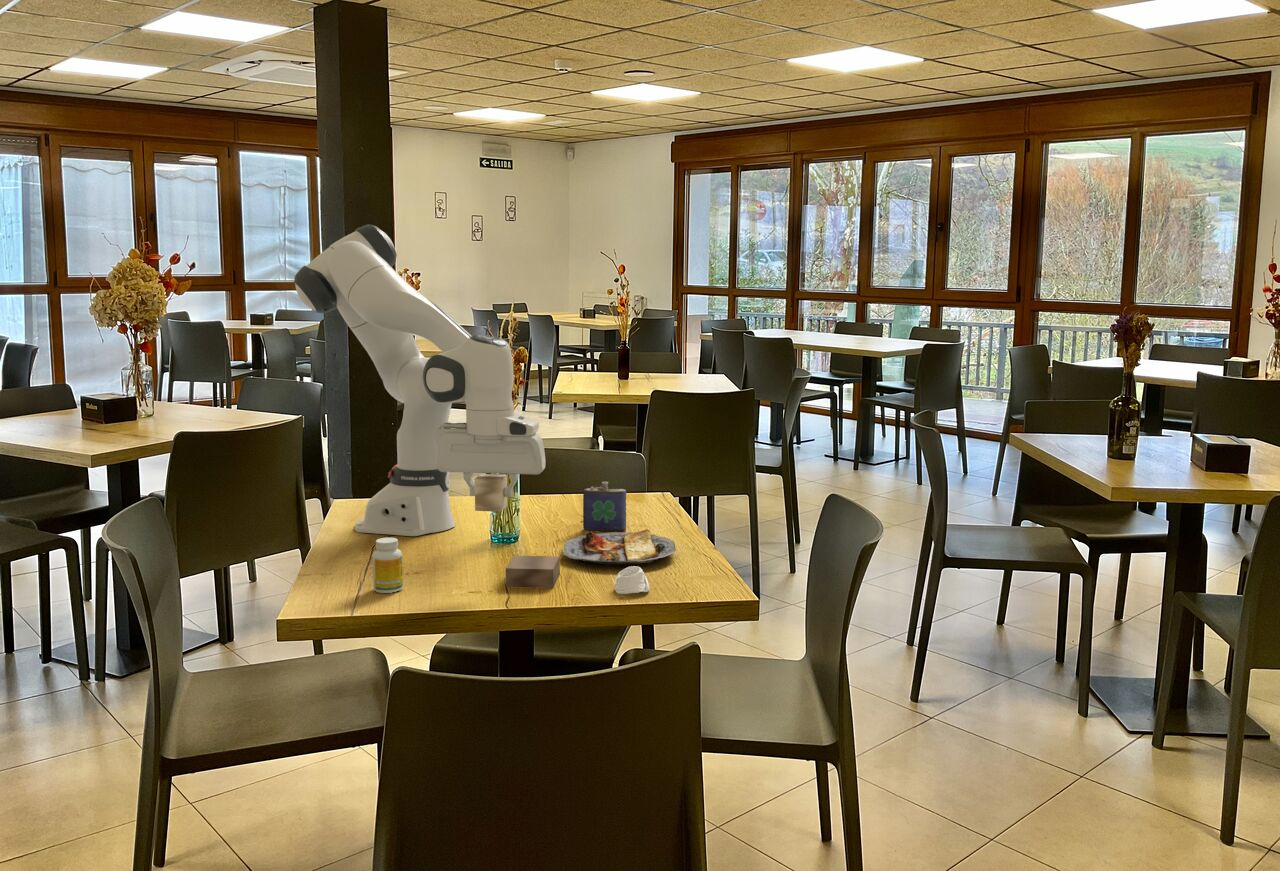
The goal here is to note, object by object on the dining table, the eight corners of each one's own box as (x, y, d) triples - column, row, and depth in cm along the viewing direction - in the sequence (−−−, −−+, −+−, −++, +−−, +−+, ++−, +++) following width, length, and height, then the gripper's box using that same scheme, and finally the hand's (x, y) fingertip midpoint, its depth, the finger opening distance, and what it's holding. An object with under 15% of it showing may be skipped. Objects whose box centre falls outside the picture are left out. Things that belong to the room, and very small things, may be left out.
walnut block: (506, 588, 201) (505, 568, 200) (514, 575, 210) (514, 555, 209) (553, 589, 200) (553, 569, 200) (559, 576, 209) (559, 556, 208)
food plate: (567, 540, 236) (567, 524, 235) (672, 540, 236) (672, 525, 236) (560, 572, 211) (560, 555, 211) (677, 572, 212) (677, 555, 211)
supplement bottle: (369, 588, 199) (367, 538, 198) (397, 584, 202) (395, 534, 201) (379, 595, 195) (377, 545, 193) (407, 591, 198) (405, 541, 196)
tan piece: (475, 510, 198) (474, 479, 197) (481, 504, 203) (481, 474, 202) (501, 511, 198) (501, 479, 197) (507, 505, 202) (506, 474, 201)
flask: (626, 529, 245) (626, 480, 243) (625, 532, 242) (625, 483, 240) (583, 528, 245) (583, 479, 244) (582, 532, 242) (582, 482, 240)
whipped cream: (653, 601, 196) (656, 576, 195) (617, 600, 195) (620, 575, 194) (644, 585, 204) (647, 561, 203) (610, 584, 202) (613, 560, 201)
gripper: (430, 424, 196) (432, 498, 198) (540, 427, 194) (541, 501, 196) (440, 419, 202) (442, 491, 204) (546, 421, 200) (547, 493, 202)
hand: (491, 496), depth 200 cm, fingers closed on tan piece, 5 cm apart
